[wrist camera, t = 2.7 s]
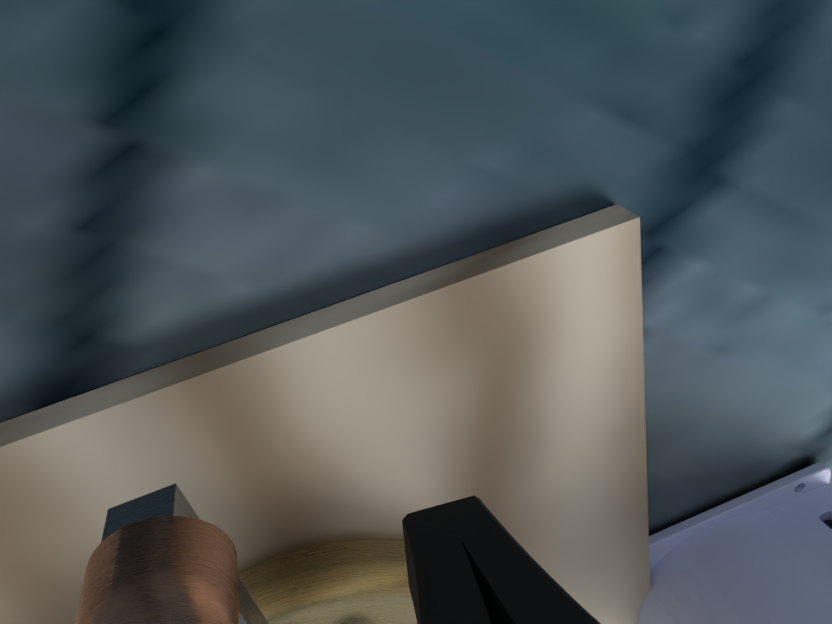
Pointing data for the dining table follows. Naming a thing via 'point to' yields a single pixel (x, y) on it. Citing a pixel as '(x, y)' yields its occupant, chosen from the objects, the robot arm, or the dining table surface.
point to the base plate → (373, 426)
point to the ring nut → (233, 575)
